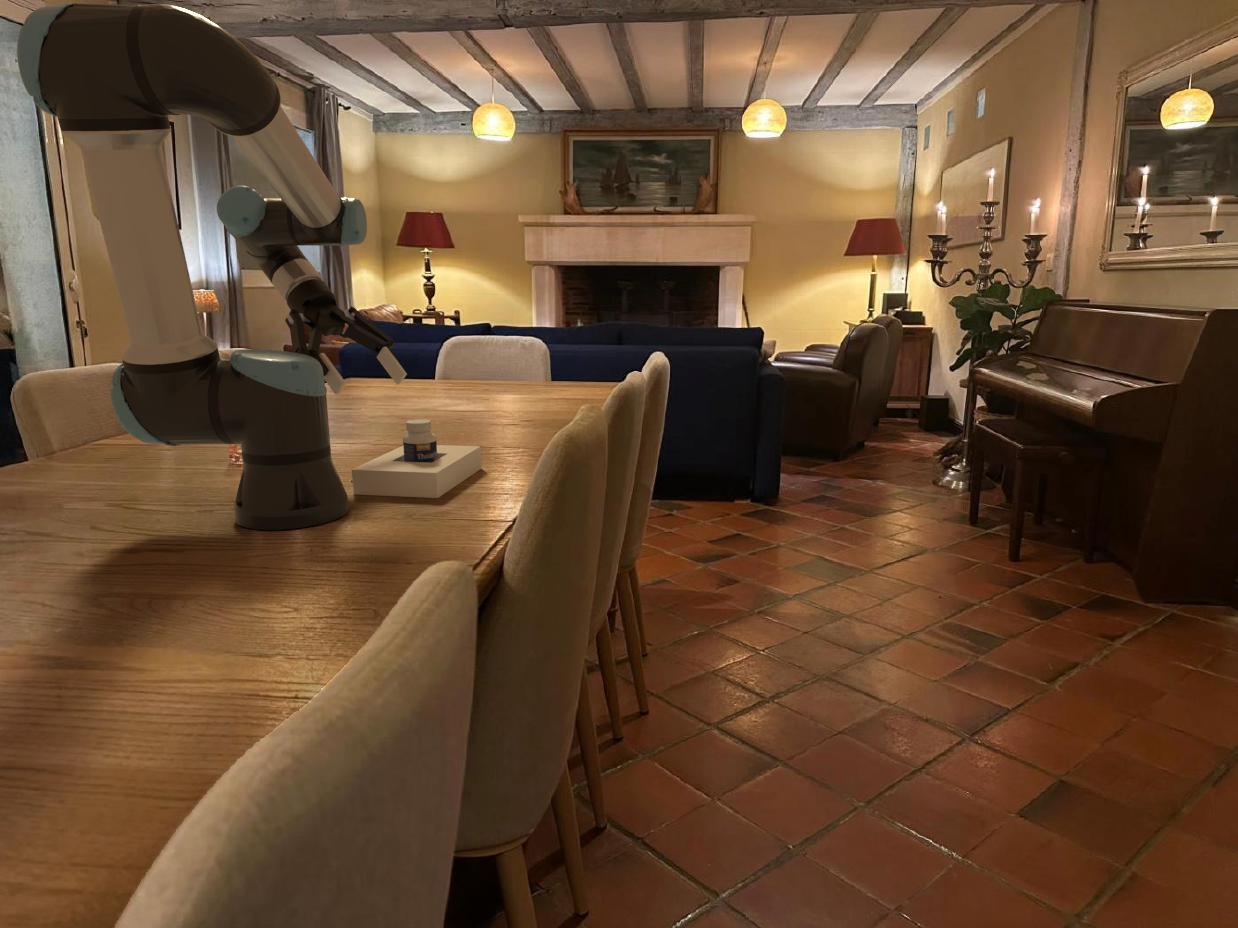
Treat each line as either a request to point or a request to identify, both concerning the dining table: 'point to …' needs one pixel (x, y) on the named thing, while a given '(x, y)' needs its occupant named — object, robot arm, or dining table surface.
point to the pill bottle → (419, 442)
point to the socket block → (416, 473)
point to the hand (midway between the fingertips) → (372, 383)
